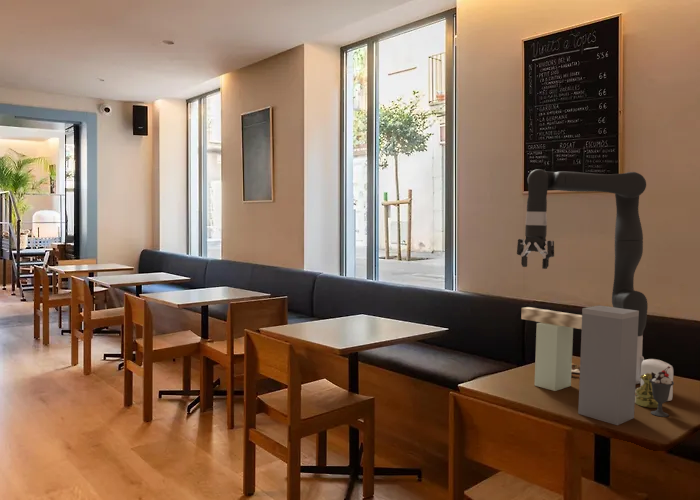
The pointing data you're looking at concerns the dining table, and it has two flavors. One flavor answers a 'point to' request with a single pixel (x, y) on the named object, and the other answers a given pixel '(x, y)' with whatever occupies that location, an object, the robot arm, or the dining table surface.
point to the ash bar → (552, 317)
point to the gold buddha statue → (645, 393)
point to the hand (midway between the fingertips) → (534, 267)
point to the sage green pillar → (553, 356)
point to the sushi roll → (575, 371)
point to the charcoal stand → (608, 363)
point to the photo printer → (657, 370)
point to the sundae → (661, 390)
